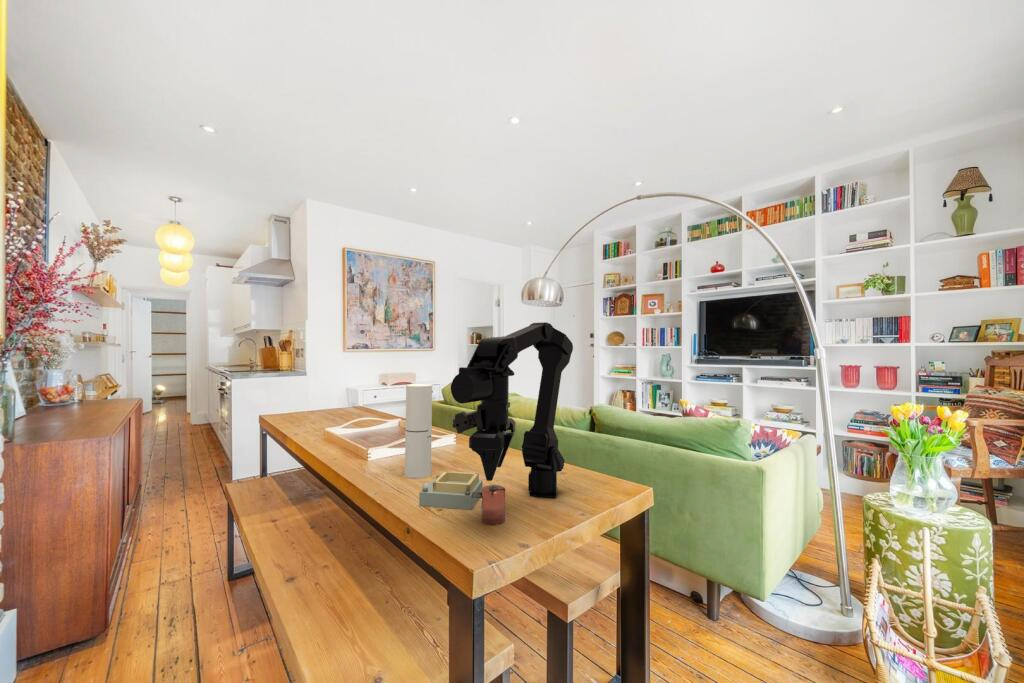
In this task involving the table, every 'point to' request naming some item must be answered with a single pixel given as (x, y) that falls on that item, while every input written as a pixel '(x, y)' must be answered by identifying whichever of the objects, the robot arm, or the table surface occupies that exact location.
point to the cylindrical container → (418, 430)
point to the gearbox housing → (451, 490)
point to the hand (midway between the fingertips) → (494, 473)
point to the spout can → (492, 504)
